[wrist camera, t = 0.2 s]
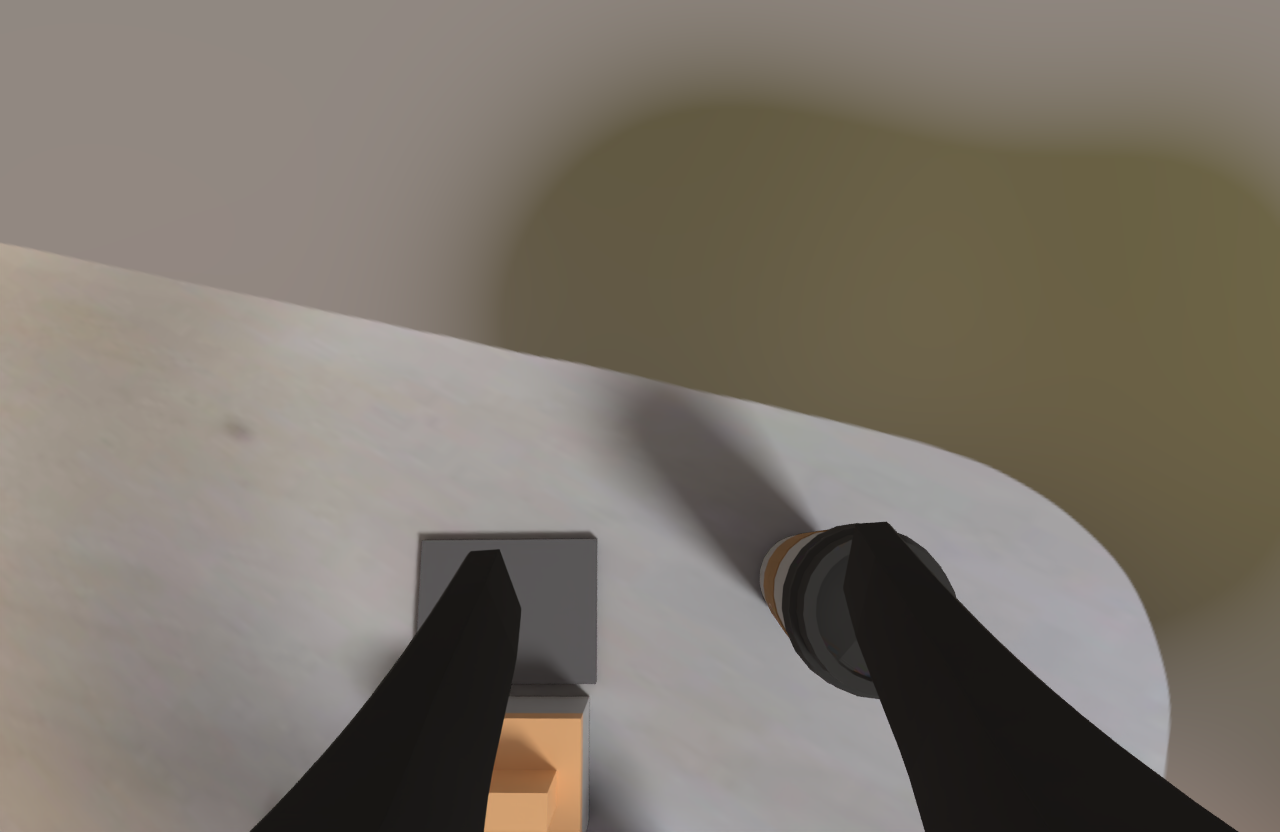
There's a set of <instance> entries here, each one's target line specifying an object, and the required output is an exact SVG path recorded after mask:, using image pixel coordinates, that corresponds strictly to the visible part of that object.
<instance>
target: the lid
mask: <svg viewBox="0 0 1280 832" xmlns="http://www.w3.org/2000/svg"><path fill="white" fill-rule="evenodd" d="M582 783H583V713H505V717H504V721H503V726H502V731H501V735H500V740H499V745H498V749H497V754H496V759H495V763H494V768H493V773H492V778H491V784H490V790H489V795H488V802H487V810H486V819H485V827H484V832H582Z"/></svg>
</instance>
